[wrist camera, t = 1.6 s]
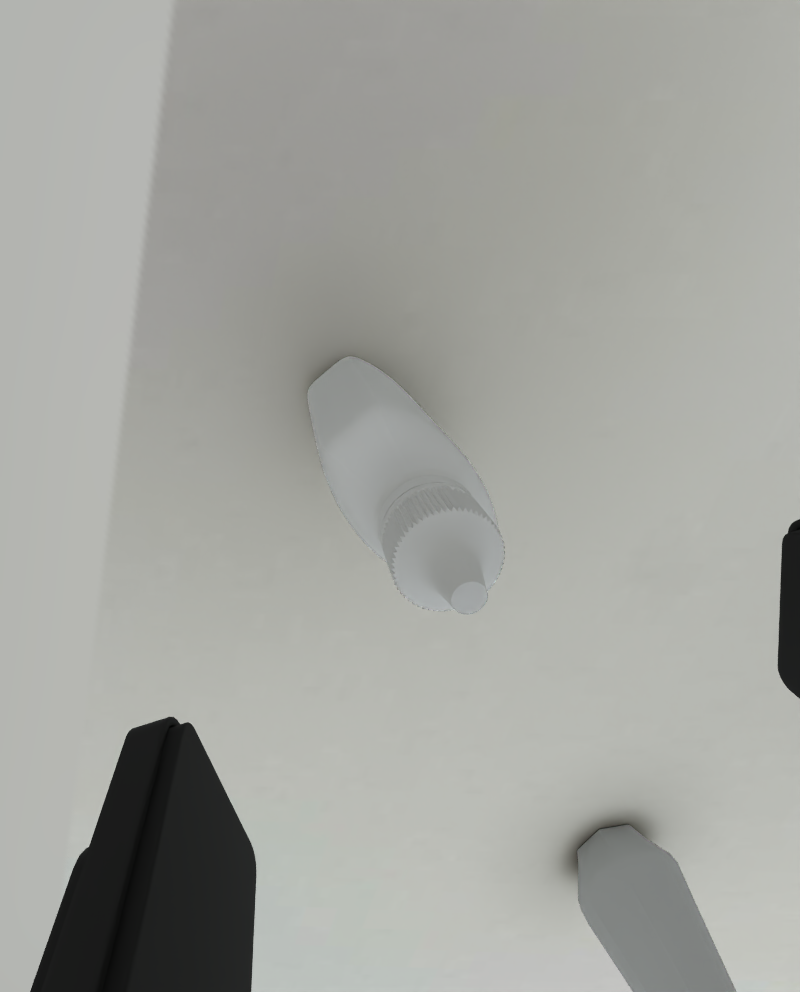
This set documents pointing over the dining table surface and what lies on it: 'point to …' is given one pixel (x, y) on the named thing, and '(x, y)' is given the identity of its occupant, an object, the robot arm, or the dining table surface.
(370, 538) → the white plastic bottle
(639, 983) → the salt shaker
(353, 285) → the dining table surface
